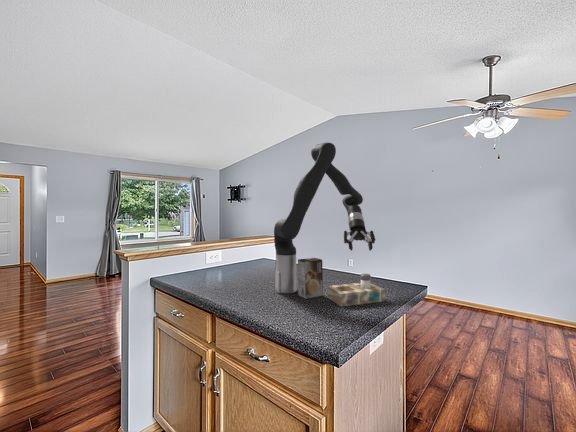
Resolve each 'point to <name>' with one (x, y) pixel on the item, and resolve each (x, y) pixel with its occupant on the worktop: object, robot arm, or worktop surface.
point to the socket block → (355, 294)
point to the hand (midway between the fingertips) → (361, 249)
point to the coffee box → (310, 277)
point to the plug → (365, 281)
